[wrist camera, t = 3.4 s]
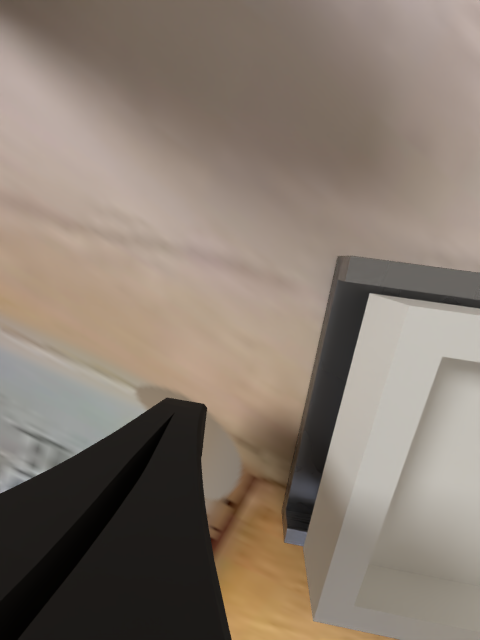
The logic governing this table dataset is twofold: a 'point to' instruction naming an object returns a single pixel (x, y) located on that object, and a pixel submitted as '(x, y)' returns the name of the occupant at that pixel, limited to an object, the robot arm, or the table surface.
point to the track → (336, 357)
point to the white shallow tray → (403, 479)
